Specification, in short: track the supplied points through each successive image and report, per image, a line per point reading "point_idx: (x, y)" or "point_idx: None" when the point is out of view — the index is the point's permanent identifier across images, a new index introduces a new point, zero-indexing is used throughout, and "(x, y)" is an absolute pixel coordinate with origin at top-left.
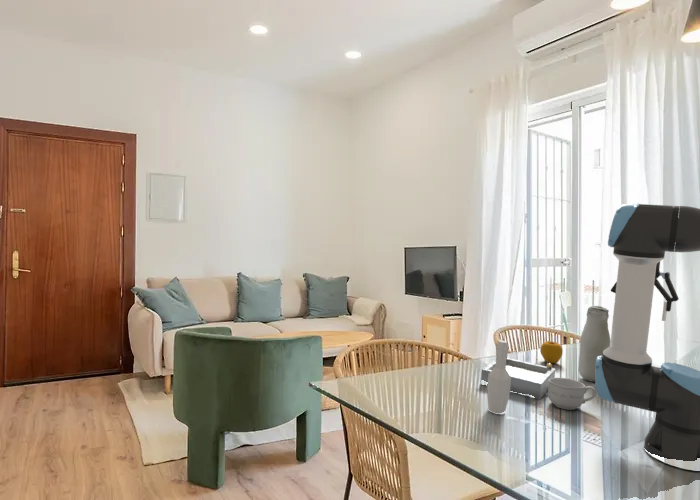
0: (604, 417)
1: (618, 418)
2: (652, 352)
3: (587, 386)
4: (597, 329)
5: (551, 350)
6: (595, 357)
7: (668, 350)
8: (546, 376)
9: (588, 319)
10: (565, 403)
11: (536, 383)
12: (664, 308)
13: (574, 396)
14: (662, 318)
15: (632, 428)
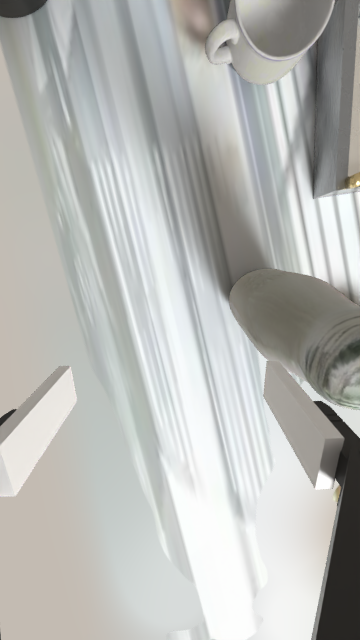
0: (174, 57)
1: (151, 82)
2: (201, 541)
3: (230, 25)
4: (309, 295)
5: None
6: (265, 275)
7: (184, 568)
8: (344, 87)
9: None
10: None
11: None
12: (24, 408)
13: None
14: (62, 372)
15: (113, 40)
